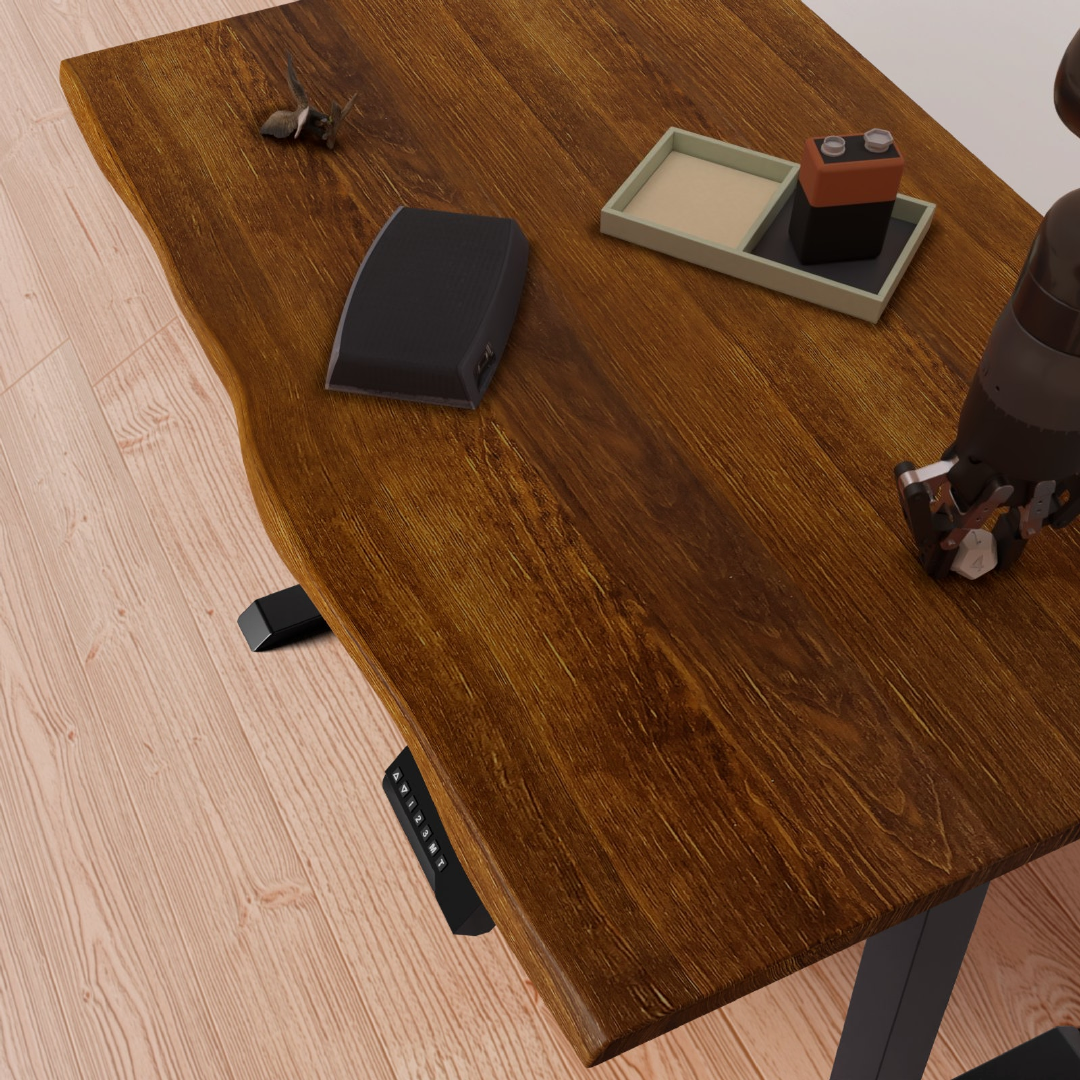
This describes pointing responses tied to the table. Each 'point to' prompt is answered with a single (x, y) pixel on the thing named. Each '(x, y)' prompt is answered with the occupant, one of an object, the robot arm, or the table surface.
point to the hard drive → (431, 308)
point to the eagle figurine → (305, 114)
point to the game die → (976, 554)
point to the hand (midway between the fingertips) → (964, 564)
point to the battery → (845, 196)
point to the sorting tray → (752, 223)
